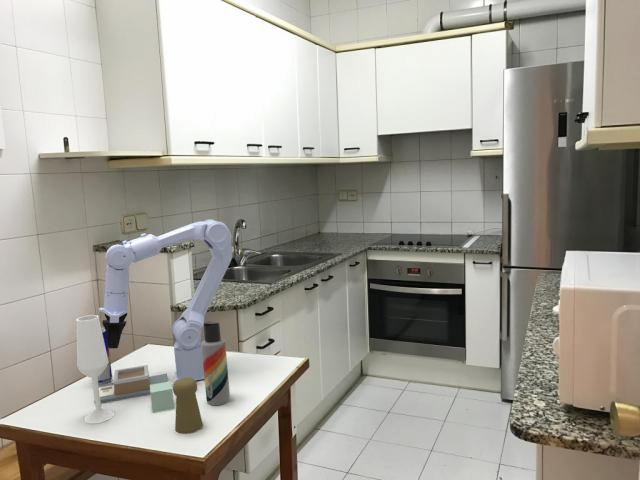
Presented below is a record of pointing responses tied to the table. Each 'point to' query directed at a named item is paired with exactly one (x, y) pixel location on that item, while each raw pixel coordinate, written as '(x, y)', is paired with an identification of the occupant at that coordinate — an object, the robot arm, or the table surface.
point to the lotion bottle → (215, 365)
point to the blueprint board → (137, 394)
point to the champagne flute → (92, 360)
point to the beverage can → (107, 373)
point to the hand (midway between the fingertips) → (113, 343)
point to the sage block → (161, 396)
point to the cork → (186, 406)
